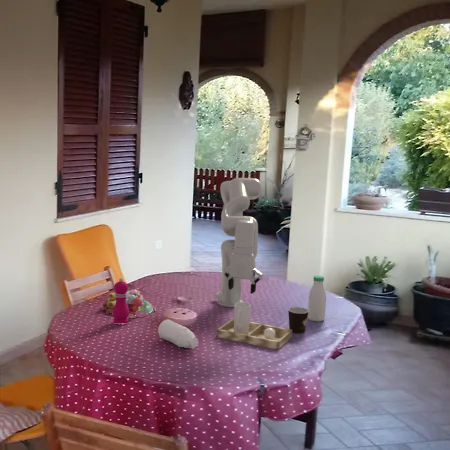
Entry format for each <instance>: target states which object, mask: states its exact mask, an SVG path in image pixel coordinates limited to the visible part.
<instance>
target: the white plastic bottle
mask: <svg viewBox="0 0 450 450" xmlns="http://www.w3.org/2000/svg"><path fill="white" fill-rule="evenodd" d="M157 333H158V337H159V338H160V339H162V338H163V340H165V341H166V342H167V341H168V342H170V343H172V344H174V345H176V346H177V347H179V348H180V347H184V348H185V349H189V348H191V349H192V350H194V349H195V348H196V347H198V344H199V339H198V338H197V337H196V335H195V333H194V332H193V331H191V330H190V329H189V328H188V327H186V326H184V325H181V324H179V323H177V322H174V321H173V320H171V319H164V320H162V322H160V324H159V326H158V328H157ZM184 348H183V349H184Z"/></svg>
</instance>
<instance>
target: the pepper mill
mask: <svg viewBox="0 0 450 450" xmlns="http://www.w3.org/2000/svg"><path fill="white" fill-rule="evenodd" d="M113 291H114V293H115V296H116V304H115V306H114V308H113V312H112V314H111V315H112V317H113V322H114V323H127V322H128V323H129V318H127V317H128V316H129V309H128V306H127V304H126V296H127V292H128V291H129V285H128V283H127V282H125V281H124V278H123V277H120V278H119V279H118V281H117V282H116V283H115V284H114V286H113ZM114 323H113V324H114Z"/></svg>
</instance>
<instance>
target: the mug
mask: <svg viewBox="0 0 450 450" xmlns="http://www.w3.org/2000/svg"><path fill="white" fill-rule="evenodd" d="M233 311H234V312H233V318H234V332H236V333H240V334H248V333H249V324H250V322H251V321H250V320H251V304H250V303H249V302H245V301H243V302H238V303H235V304H234V307H233Z"/></svg>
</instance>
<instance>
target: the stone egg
mask: <svg viewBox="0 0 450 450" xmlns="http://www.w3.org/2000/svg"><path fill="white" fill-rule="evenodd" d="M275 335H276V334H275V331H274V330H273V329H272V328H267V329H266V330H265V331H264V337H265V338H266V339H270V340H272V339H274V338H275Z"/></svg>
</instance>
